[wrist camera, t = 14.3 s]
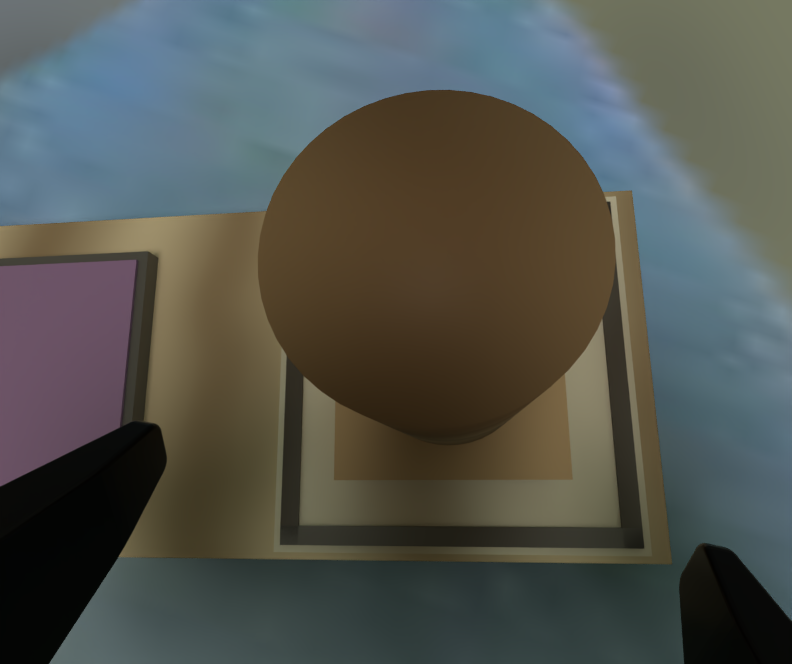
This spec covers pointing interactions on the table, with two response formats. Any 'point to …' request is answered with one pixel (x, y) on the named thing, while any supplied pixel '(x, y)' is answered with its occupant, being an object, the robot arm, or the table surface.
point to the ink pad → (71, 352)
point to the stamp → (439, 285)
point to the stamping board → (315, 425)
